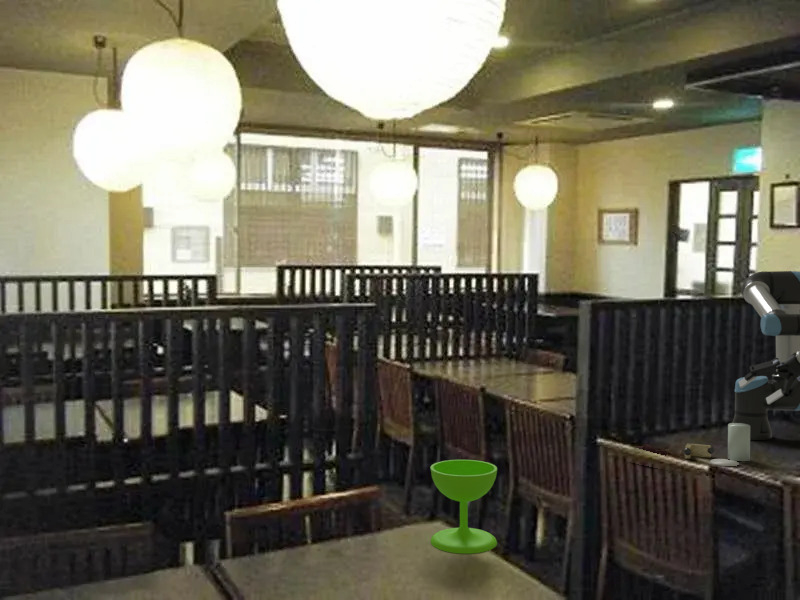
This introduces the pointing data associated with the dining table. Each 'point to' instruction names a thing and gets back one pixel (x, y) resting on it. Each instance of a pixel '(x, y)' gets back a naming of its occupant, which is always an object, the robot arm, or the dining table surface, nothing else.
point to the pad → (724, 462)
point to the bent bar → (698, 450)
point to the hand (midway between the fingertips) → (753, 393)
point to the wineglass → (463, 503)
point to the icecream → (652, 449)
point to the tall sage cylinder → (739, 442)
